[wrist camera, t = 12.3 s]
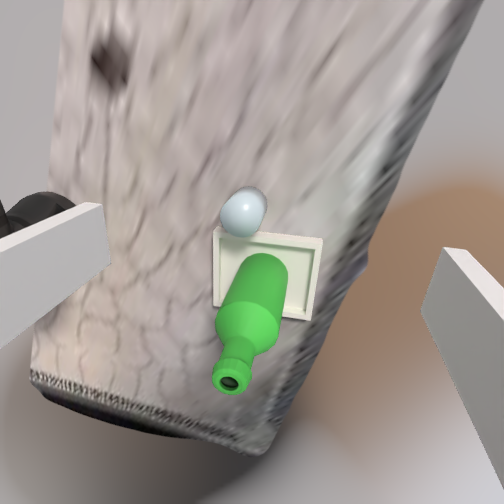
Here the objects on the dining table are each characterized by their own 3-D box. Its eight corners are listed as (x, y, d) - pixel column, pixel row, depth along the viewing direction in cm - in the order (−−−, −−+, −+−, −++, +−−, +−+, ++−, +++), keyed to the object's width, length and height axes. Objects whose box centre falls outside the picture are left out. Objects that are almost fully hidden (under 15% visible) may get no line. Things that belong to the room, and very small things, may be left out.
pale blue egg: (231, 219, 55) (220, 235, 48) (232, 184, 52) (220, 196, 46) (266, 223, 54) (259, 239, 48) (268, 188, 51) (261, 200, 45)
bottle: (255, 300, 60) (218, 419, 37) (230, 263, 57) (174, 366, 35) (297, 282, 56) (284, 401, 34) (273, 242, 54) (241, 341, 32)
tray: (217, 298, 62) (213, 305, 60) (217, 226, 56) (213, 231, 53) (310, 312, 59) (310, 320, 57) (322, 238, 53) (322, 244, 51)
